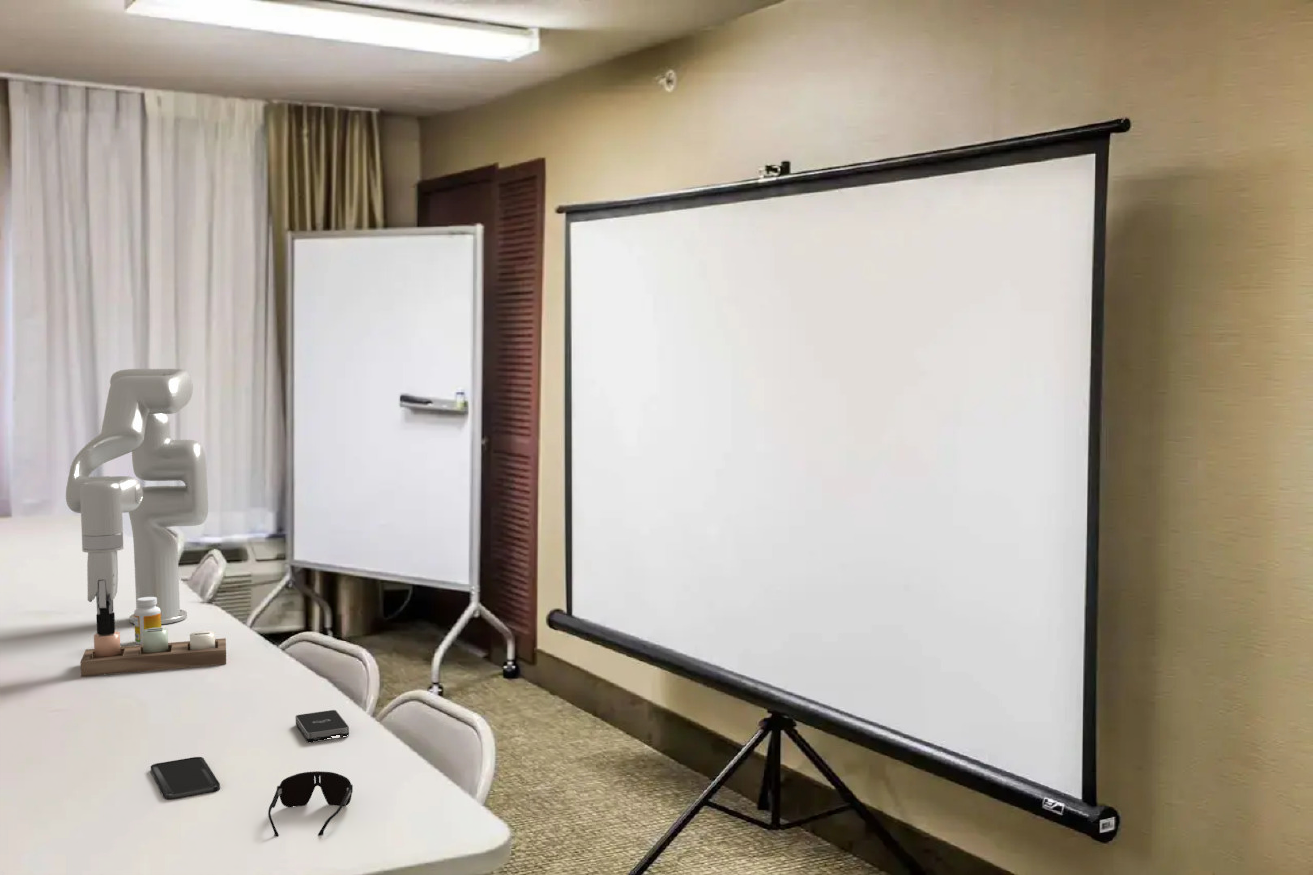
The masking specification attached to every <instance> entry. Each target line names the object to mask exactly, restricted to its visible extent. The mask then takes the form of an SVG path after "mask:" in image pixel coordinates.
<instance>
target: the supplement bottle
mask: <svg viewBox="0 0 1313 875" xmlns="http://www.w3.org/2000/svg"><path fill="white" fill-rule="evenodd" d="M156 604H157V598H156V597H142V598H138V599H137V606H139V607H138V608H137V609H136V608H135V610H134V613H133V614H134V623H135V624H134V640H135V644H137V645H143V638H142V631H143V630H145V629H149V628H162V624H161V611H160V608H159V607H156Z"/></svg>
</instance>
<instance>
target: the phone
mask: <svg viewBox="0 0 1313 875" xmlns="http://www.w3.org/2000/svg"><path fill="white" fill-rule="evenodd" d="M150 774H151V776H152V778H153V779H154V781H155V783H156V785H157V787H158V789H159V791H160V793H161V795H162V798H163V799H164V800H166V801H167V800H168V801H169V800H170V801H172V800H179V799H183V798H188V797H190V798H191V797H195V796H201V795H206V794H211V793H216V792H219V791H220V788H221V785H220V784H221V783H220V781H219V780H218V779H217V777H216V776H215V774H214V772H213V770H212V769H211V768H210V766H209V765H208V763H207V761H206V759H205V758H204V757H202V756H193V757H189V758H188V757H187V758H181V759H174V760H169V761H163V762H158V763H154V764H151V765H150Z"/></svg>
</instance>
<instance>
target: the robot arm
mask: <svg viewBox="0 0 1313 875" xmlns="http://www.w3.org/2000/svg"><path fill="white" fill-rule="evenodd" d="M109 384H110V386H109V389H108V393H107V394H108V395H107V399H106V405H105V409H104V416H103V421H102V425H101V431H100V433H99V434H98V435H97V436H95V437H94V438H92V439H91V440H90V441H89V442H88V443H86V444H85V446H83V448H81V450H79V452H78V453H77V454H76V455H75V457H74V458H73V461H72V462H71V465H70V468H69V471H68V472H69V473H68V477H67V478H68V479H67V481H66V482H67V484H66V487H65V488H66V489H65V502H66V505H67V507H68V508H69V510H70V511H72V512H74V513H76V514H80V522H81V524H80V525H81V547H82V548H81V549H82V552H83V553H87V566H86V567H87V569H86V571H87V575H86V576H87V577H86V578H87V579H86V580H87V601H88V602H90V603H92V602H93V601H95V598H96V601H95V602H96V615H95V616H96V633H97V634H99V635H100V634H113V633H114V632H115V631H116V624H115V623H116V621H115V619H116V617H115V616H116V615H115V611H114V600H115V598H116V596H117V593H118V583H119V582H118V581H119V576H118V575H119V567H118V564H119V563H118V562H119V561H118V552H119V551H122V550H124V532H123V531H124V530H123V529H124V527H123V524H124V522H123V514H125V513H128V516H129V520H130V524H131V525H130V526H131V531H132V539H133V542H132V543H133V554H134V555H133V556H134V557H133V559H134V560H133V561H134V582H135V585H134V586H135V588H134V589H135V606H136V607H135V610H136V609H137V608H138V607H139V606H137V599H138V598H142V597H156V598H157V604H156V607H159V608H160V611H161V625H166V624H173V623H177V622H181V621H183V620H185V619H187V617H188V612H187V611H186V610H184V609H181V606H180V601H181V600H180V574H179V552H178V549H179V548H178V544H177V543H178V542H177V541H176V539H175V537H174V536H173V535H172V534H171V532H170V531H169V530H168V529H167V528H170V527H194V526H199V525H203V524H204V523H205V522H206V521H207V517H208V515H209V514H208V513H209V497H208V496H209V495H208V476H207V460H206V459H207V458H206V454H205V450H204V447H203V446H202V444H201V443H199V442H198V441H196V440H193V439H173V438H172V437H171V427H170V424H171V422H170V417H169V415H171V414H176V413H178V412H179V411H181V410H182V409H184V407H186V406H187V405H188V403H189V402H190V400H191V399H192V395H193V388H194V387H193V386H194V385H193V380H192V377H191V375H190V374H189V372H188V371H186V370H185V369H183V368H182V369H181V368H129V369H127V368H126V369H121V370H118V371H116V372H113V373H112V375H111V376H110V379H109ZM129 453H131V458H132V459H131V460H132V468H133V473H134V475H135V477H136V478H137V479H139V480H141V481H148V482H151V481H152V482H162V481H163V482H165V481H166V482H167V481H171V482H172V481H180V482H183V483H184V484H185V485H150V486H143V487H142V484H141V483H140V482H139V480H137V479H136V478H135V477H132V476H122V475H121V476H115V475H113V476H109V475H108V476H107V475H106V476H104V475H103V476H90V475H91V474H92V472H93V471H95V470H96V469H97V468H98V467H100V466H102V465H103V464H105V463H107V462H109V461H113V460H115V459H117V458H120V457H122V456H125V455H127V454H129ZM129 623H130V624H134V625H135V623H134V613H133V614H131V615H130V616H129Z"/></svg>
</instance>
